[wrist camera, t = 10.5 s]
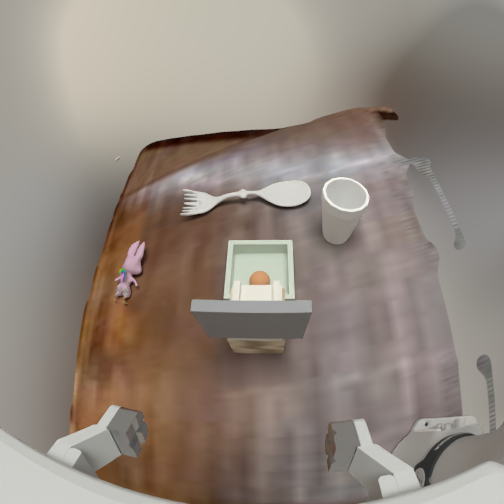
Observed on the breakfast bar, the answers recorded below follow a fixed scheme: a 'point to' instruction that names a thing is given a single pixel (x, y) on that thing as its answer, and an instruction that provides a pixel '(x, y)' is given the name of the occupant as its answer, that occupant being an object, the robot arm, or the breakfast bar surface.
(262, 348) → the stand
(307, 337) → the breakfast bar surface
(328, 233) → the foam cup
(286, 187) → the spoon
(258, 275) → the ball
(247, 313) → the lever flap
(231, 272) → the tray
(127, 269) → the rabbit figure
